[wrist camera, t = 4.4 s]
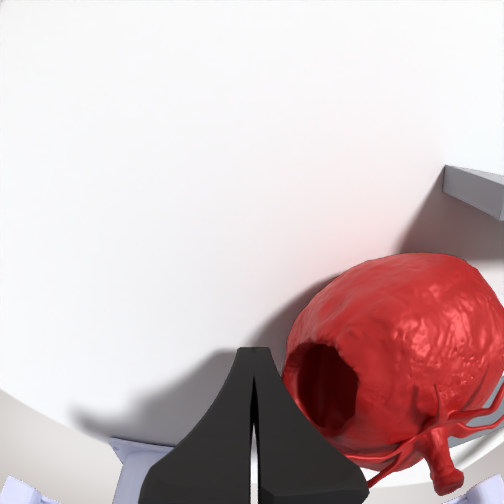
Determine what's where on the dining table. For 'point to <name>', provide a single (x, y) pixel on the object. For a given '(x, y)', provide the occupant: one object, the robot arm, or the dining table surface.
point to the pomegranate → (399, 362)
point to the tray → (500, 207)
